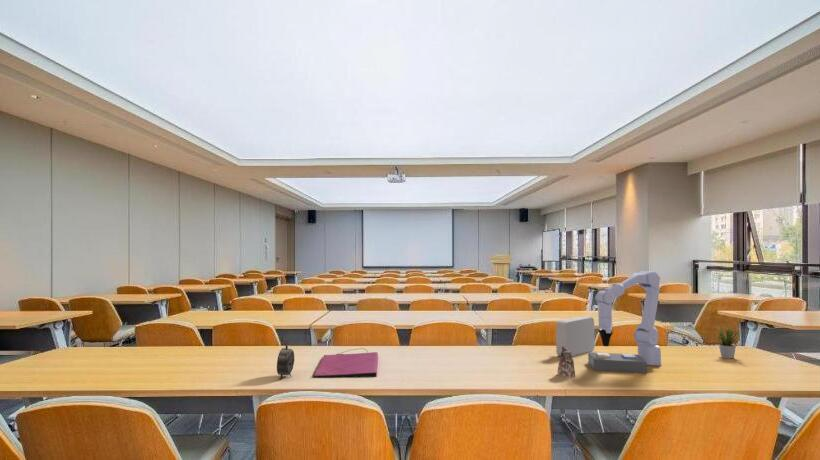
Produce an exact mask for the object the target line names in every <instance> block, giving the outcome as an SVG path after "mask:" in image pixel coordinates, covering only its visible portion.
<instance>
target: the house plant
mask: <svg viewBox="0 0 820 460" xmlns="http://www.w3.org/2000/svg"><path fill="white" fill-rule="evenodd" d="M722 327H723V329H724V330H725V334H726V335H725V334H724V332H723V330H722V329H721V328H719V327H718V326H716V328H717V329H718V331H717V333H718V335H719V336H718V335H715V338H716V340H717V341H719V342H720V343H719V344H718V346H719V351H720V352H719V353H720V356H722V357H721V358H723V357H724V358H723V359H729V358H733V359H735V353H736V347H737V346H736V345H735V344H733V343H738V341H739V342H741V340H740V339H738V338H739V336H737V335H738V334H739V333H740V329H742V328H740V327H739V328H735V329H734V328H733V329H730V328H729V327H728V326H727V327H726V326H725V325H722ZM713 329H714V328H713ZM714 330H715V329H714ZM738 330H739V331H738ZM715 331H716V330H715ZM736 336H737V337H736ZM736 340H737V341H736Z"/></svg>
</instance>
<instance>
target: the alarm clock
mask: <svg viewBox="0 0 820 460" xmlns="http://www.w3.org/2000/svg"><path fill="white" fill-rule="evenodd" d="M288 344H289V339H288V338H286V339H285V347H282V348H281V349H280V351H279V352H278V356H277V362H276V373H277V375H278V376H280V377H279V380H280V381H281V380H282V377H283V376H290V377H292V375H291V373H292V372H293V369H294V365H295V352H294V350H293V349H292V348H288Z"/></svg>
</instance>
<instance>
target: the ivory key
mask: <svg viewBox="0 0 820 460" xmlns="http://www.w3.org/2000/svg"><path fill="white" fill-rule="evenodd" d="M596 353H597V357H599V358H610V355H609V354H608V353H609V352H596Z"/></svg>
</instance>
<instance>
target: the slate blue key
mask: <svg viewBox="0 0 820 460" xmlns="http://www.w3.org/2000/svg"><path fill="white" fill-rule="evenodd" d="M621 354H622V358H623V359H636V356H635V355H636V354H633V355H632V354H631V353H630V354H629V353H621Z"/></svg>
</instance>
